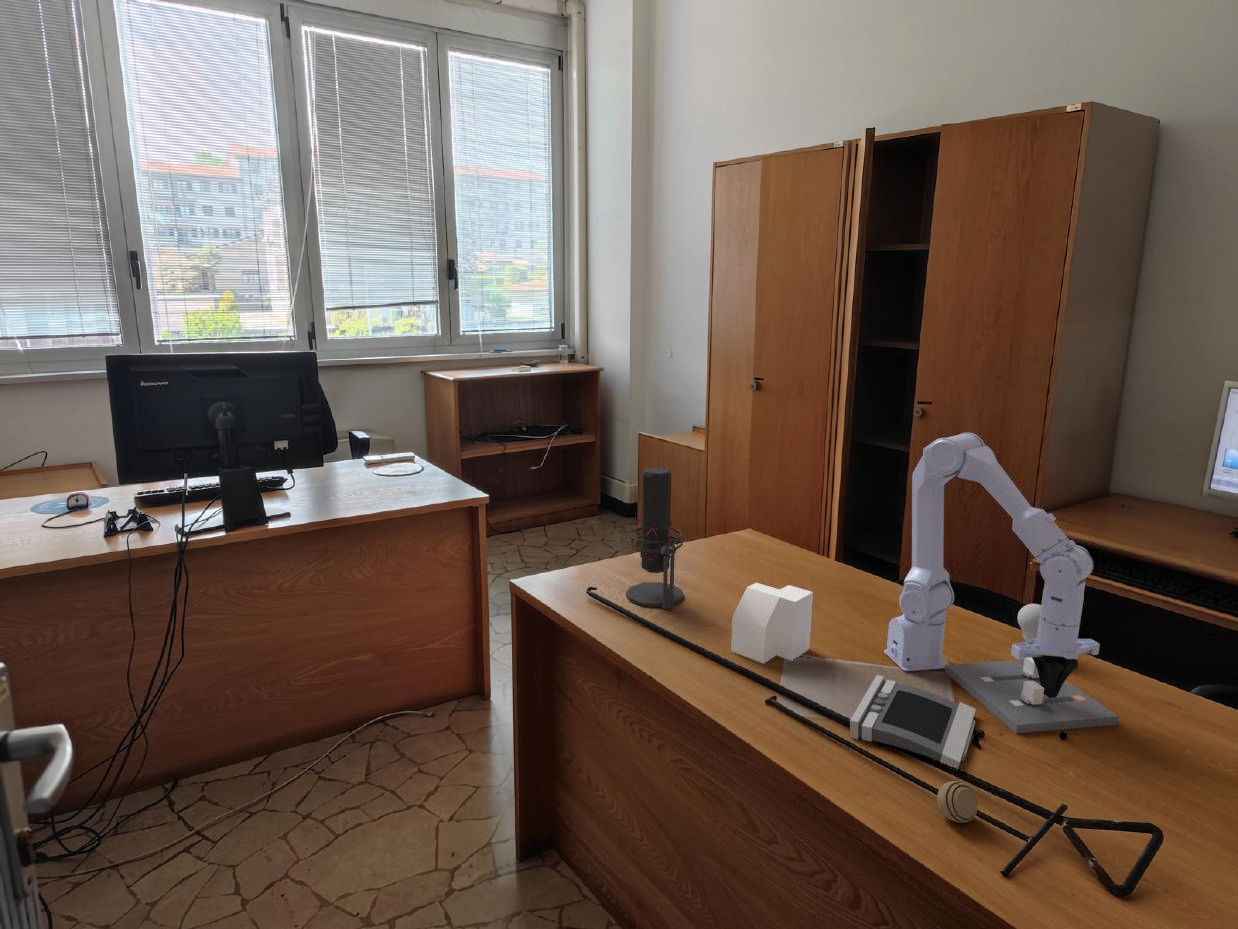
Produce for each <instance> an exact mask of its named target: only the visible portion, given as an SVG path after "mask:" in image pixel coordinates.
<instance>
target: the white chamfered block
mask: <svg viewBox="0 0 1238 929" xmlns="http://www.w3.org/2000/svg"><path fill="white" fill-rule="evenodd" d="M813 598H814V592H813V591H811V590H806V589H804V588H800V587H797V586H794V585H789V584H788V585H785V587H782V588H780V589H779V588H775V587H773V586H768V585H766V584H762V583H759V582H755V583H752V584H750V585H749V586H747V587H746V588H745V591H744V593H743V595H742V597H741V599H740V601H739V603H738V605H737V607H736V609H735V611H734V612H733V614H732V619H731V620H732V621H731V622H732V624H731V644H730V645H731V646H730V647H731V648H730V652H733V653H735V654H737V655H740V656H742V657H745V658H748V659H751V660H753V661H755V662H758V663H760V664H765V663H767V662H768V661H770V660H771V659H773V658H774V657H776V656H778V657H780V658H783V659H785V660H788V659H789V660H788V661H791V660H792V661H794V660H795V659H796V658H795V657H797V658H798V657H800V656H802V655H803V654H804V653H806V652H807V651H809V650H810V644H811V627H812V614H813V613H812V612H813V600H814V599H813ZM794 658H795V659H794ZM793 659H794V660H793Z"/></svg>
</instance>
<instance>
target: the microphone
mask: <svg viewBox="0 0 1238 929" xmlns="http://www.w3.org/2000/svg"><path fill="white" fill-rule="evenodd" d="M641 475H642V480H641V482H642V484H641V485H642V488H641V489H642V490H641V491H642V492H641V500H642V502H641V521H640V523H639V524H638V525H637V527H635V528H634V529H631V531H630V532H629V533H628V536H629V538H630V540H629V542H628V543H629V545H630V548H631V549H634V550H636V551H637V552H638V553H639V554H640V555H639V557H640V558H641V563H640V565H641V566H640V567H641V569H643V570H645V571H646V572H647V573H651V574H652V573H653V574H660V573H663V577H662V578H663V580H662V581H663V582H661V581H658V582H657V581H656V582H654V581H653V582H651V581H650V582H647V581H646V582H641V583H638V584H635V585H631V586H630V587H628V589H627V590H626V592H625V595H626V598H627V600H628V601H629V602H631V603H632V604H636V605H638V606H641V607H644V608H645V607H646V608H648V607H649V608H662V609H663V610H666V609H673V608H674V605H676V604H679V603H681V601H682V600H683V598H684V596H685V595H684V592H683V590H682V588H680V587H678V586H676V585H674V584H675V557H676V555H675V554H676V553H677V551H678V550H679V549H680V548H681V547H682V546H684V542H683V541H682V540H681V539H683V533H682V531H681V530H680V529H678V528H674V527H673V526H672V521H671V519H672V518H671V517H672V516H671V515H672V514H671V512H672V510H671V508H672V472H671V469H670V468H669V469H668V468H664V467H647V468H646V469H644V470H642V474H641ZM637 531H641V535H636V536H634V535H633V533H634V532H637ZM671 531H672V532H674V533H675V534H678V537H676V536H673V535H671ZM634 541H637V544H638V545H639V542H640V543H641V547H640V546H636V545H634V544H633V542H634ZM674 543H676V545H675V544H674ZM669 568H670V569H669ZM668 571H670V572H668ZM668 573H669V583H668Z"/></svg>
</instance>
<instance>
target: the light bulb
mask: <svg viewBox="0 0 1238 929" xmlns="http://www.w3.org/2000/svg"><path fill="white" fill-rule="evenodd" d="M1040 611H1041V604H1038V603H1028V604H1026V605H1024V606H1022V607H1021V608H1020V610H1019V611H1018V613H1017V624H1018V626H1019V627H1020V629H1021V631H1022V637H1023V642H1025V641H1028V640H1031V639H1034V638H1037V632H1038V625H1039V618H1040Z"/></svg>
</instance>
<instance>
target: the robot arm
mask: <svg viewBox="0 0 1238 929" xmlns="http://www.w3.org/2000/svg"><path fill="white" fill-rule="evenodd" d="M922 451H923V452H922V453H923V454H922V456H921V458H920V460H918V463H917V465H916V466H915V468H914V471H912V476H911V478H912V479H911V481H912V483H911V490H912V491H911V511H912V512H911V568H910V570H909V572H908V573H907V575H906V577H905V579H904V581H903V589H902V591H901V594H900V595H899V599H898V604H899V608H900V611H901V612H902V615H900V616H897V617H892V618H891V619H890V621H889V622H888V629H887V640H886V641H887V642H886V649H884V651H883V652H884V654H885V655H886V656H888V657H889V658H890V660H892V661H893V662H894V663H895V664H896V665H897V666H898V667H899V668H900V669H901V670H903V671H904V672H913V671H914V672H915V671H916V672H917V671H927V670H928V671H929V670H939V669H940V670H942V669H944V670H945V668H946V665H951V664H950V663H949V662H948V661H946V660H945V659H944V658H943V657H942V656H943V648H944V640H945V638H944V637H945V630H946V621H947V616H946V613H947V609H949V608H950V607H951V606H953V603H954V602H955V592H954V590H953V587H952V585H951V582H950V573H949V572H948V571H947V569H945V568H944V540H945V539H944V538H945V537H944V535H945V532H944V529H945V528H944V527H945V524H944V522H945V508H944V507H945V485H946V483H948V482H949V481H950V480H951V479H953V478H954V477H956V476H957V478H959V479H963V480H967V481H968V480H969V481H973V482H976V483H977V482H978V483H979V484H980V485H981V486H983V487H984V489H985V490H986V491H987V492H988V493H989V494H990V495H991V496H992V497H993V498H994V500H995V501H996V502H997V503H998V504H999V505H1000V506H1001V507H1002V509H1004V510H1005V511H1006V513H1007V514H1008V515H1009V516H1010V517H1011V518H1012V526H1011V528H1012V531H1013V533H1014V534H1016V536H1017V537H1018V539H1020V541H1021V542H1022V543H1023V544H1024V545H1025V547H1026V548H1027V549H1028V550H1029V552H1030V553H1031V554H1032V555H1033V557H1034V558H1035V559H1036V560H1037V561H1038V563H1040V565H1039V572H1040V575H1041V577H1042V579H1043V580H1044V584H1043V585H1044V586H1043V590H1042V597H1041V599H1042V600H1041V603H1040V605H1041V611H1040V618H1039V625H1038V632H1037V638H1034V639H1031V640H1028V641H1025V642H1024V641H1022V642H1019V643H1012V645H1011V651H1010V655H1011V656H1012V657H1014V658H1015V660H1024V659H1025V658H1028V657H1032V659H1033V661H1034V663H1035V665H1036V668H1037V671H1038V675H1039V679H1040V685H1041V686H1042V687H1043V688H1044V693H1043V694H1044V695H1046V696H1047V697H1048V698H1056V697H1057V695H1058V693H1059V691H1060V689H1061V687H1062V685H1063V683H1064V682H1065V680H1066V681H1067V678H1068V677H1069V676H1070V675H1071V674H1072V673H1073V672H1074V670H1076V669H1077V668H1078V667H1079V661H1078V660H1077V659H1078V658H1079V655H1080V654H1081V655H1082V654H1089V655H1092V656H1095V655H1096V656H1097V655H1099V652H1100V646H1101V644H1100V643H1099V642H1098V641H1096V640H1094V639H1092V638H1079V631H1080V625H1081V619H1082V618H1081V617H1082V611H1083V604H1084V599H1085V594H1084V593H1085V588H1086V581H1085V579H1087V578H1088V577H1089V576H1090V575H1091V574H1092V572H1093V570H1094V560H1093V559H1092V558H1093V557H1092V556H1091V555H1090V553H1089V550H1088V549H1086V548H1085V547H1083V546H1081V545H1077V544H1076V542H1075V541H1074V540H1073V539H1071V540H1070V539H1069V538H1068V536H1067V535H1065V533H1064V532H1063V531H1062V530H1061V529H1060V527H1059V526H1058V525H1057V523H1056V522H1055V521H1057V519H1056V516H1054V514H1053V513H1048V512H1046V511H1045V510H1044V509H1042V508H1037V507H1034V506H1031V504H1030V503H1029V502H1028V500H1027V499H1026V497H1024V495H1023V494H1022V492H1021V491H1020V489H1019V488H1018V487H1017V486H1016V484H1015V483H1014V482H1013V480H1012V479H1011V478H1010V476H1009V475H1008V474H1007V472H1006V471H1005V470H1004V469H1003V467H1002V466H1001V465H1000V463H999V462H998V460H997V458H996V456H995V453H994V451H993V450H992V449H991V448H990V447H989V446H988V445H986V444H985V442H984V441H983V439H982V438H981V437H980V436H978V435H977V434H975V433H973V432H962V433H959V434H957V435H953V436H948V437H941V438H937V439H935V440H933V441H932V442H931V443H930V444H928V445H927V446H925V447H923V449H922Z"/></svg>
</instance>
